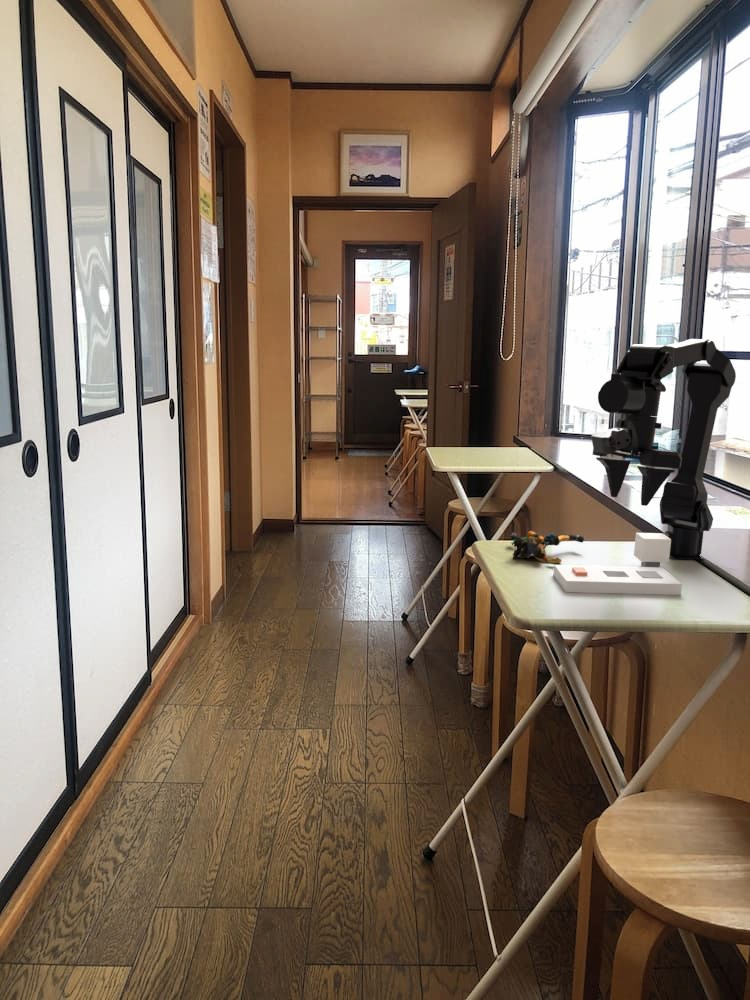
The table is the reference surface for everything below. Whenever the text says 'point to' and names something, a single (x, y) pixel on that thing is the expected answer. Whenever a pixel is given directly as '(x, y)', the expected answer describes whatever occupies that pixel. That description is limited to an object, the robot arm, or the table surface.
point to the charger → (652, 549)
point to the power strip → (616, 579)
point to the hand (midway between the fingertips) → (628, 501)
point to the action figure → (539, 545)
